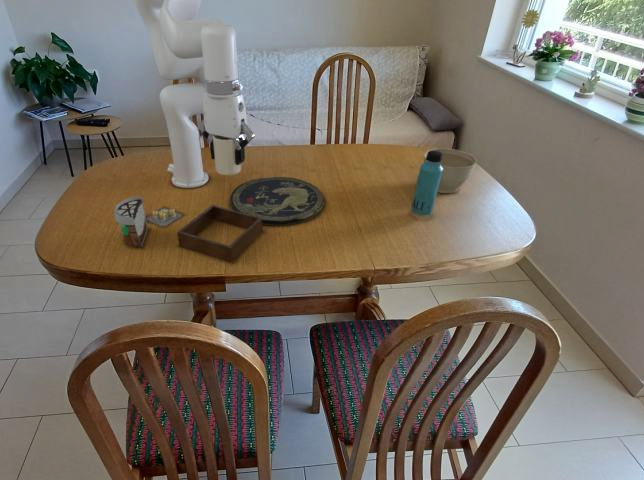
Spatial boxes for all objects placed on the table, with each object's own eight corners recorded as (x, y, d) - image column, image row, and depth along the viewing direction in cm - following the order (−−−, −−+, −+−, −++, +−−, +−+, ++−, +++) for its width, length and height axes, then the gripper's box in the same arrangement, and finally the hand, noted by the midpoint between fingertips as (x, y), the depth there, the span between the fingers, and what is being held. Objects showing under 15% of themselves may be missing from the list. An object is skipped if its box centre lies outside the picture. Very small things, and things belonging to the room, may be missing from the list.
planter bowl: (443, 174, 148) (450, 145, 142) (477, 193, 136) (487, 162, 130) (408, 182, 142) (414, 152, 136) (440, 202, 131) (449, 171, 124)
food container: (127, 227, 118) (118, 196, 112) (148, 226, 118) (141, 195, 112) (116, 251, 108) (107, 219, 102) (140, 250, 108) (132, 218, 103)
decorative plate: (216, 214, 120) (244, 172, 144) (217, 220, 121) (244, 176, 145) (317, 226, 116) (329, 180, 139) (317, 232, 117) (328, 185, 140)
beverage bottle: (432, 211, 126) (448, 149, 114) (431, 222, 121) (447, 158, 109) (410, 208, 128) (424, 146, 116) (408, 218, 123) (422, 154, 111)
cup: (210, 171, 105) (207, 137, 99) (225, 162, 109) (222, 129, 104) (232, 177, 102) (229, 142, 97) (245, 167, 107) (244, 133, 102)
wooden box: (179, 246, 110) (176, 232, 108) (213, 217, 122) (212, 204, 120) (231, 262, 105) (230, 248, 102) (262, 231, 117) (262, 217, 114)
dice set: (176, 215, 123) (175, 209, 122) (164, 222, 120) (163, 217, 119) (164, 210, 126) (163, 205, 124) (152, 218, 122) (150, 212, 121)
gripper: (263, 87, 93) (264, 161, 104) (201, 78, 99) (208, 149, 110) (246, 95, 88) (249, 172, 99) (181, 85, 94) (191, 159, 105)
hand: (227, 159), depth 104 cm, fingers closed on cup, 6 cm apart
